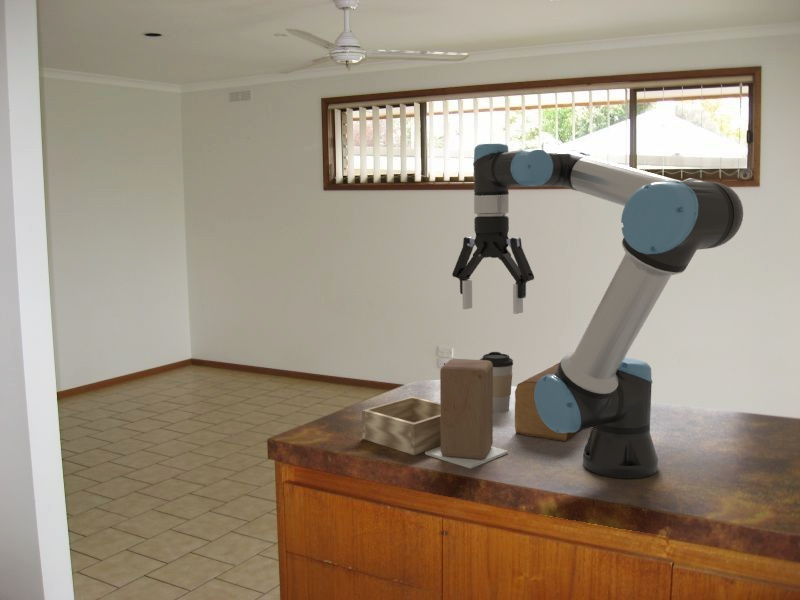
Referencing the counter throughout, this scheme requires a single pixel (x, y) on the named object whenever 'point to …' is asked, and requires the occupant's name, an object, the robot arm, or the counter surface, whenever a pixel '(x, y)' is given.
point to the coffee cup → (500, 380)
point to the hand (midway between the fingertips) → (492, 310)
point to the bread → (534, 411)
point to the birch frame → (404, 425)
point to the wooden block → (466, 408)
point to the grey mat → (467, 462)
